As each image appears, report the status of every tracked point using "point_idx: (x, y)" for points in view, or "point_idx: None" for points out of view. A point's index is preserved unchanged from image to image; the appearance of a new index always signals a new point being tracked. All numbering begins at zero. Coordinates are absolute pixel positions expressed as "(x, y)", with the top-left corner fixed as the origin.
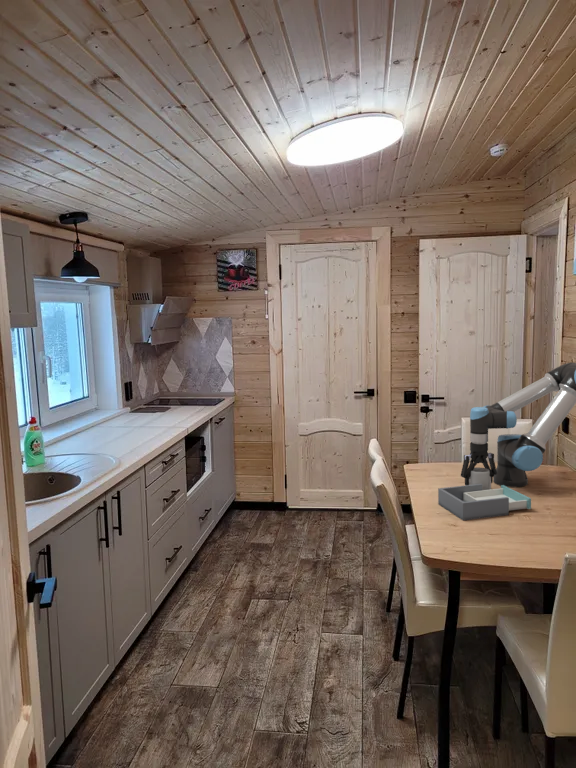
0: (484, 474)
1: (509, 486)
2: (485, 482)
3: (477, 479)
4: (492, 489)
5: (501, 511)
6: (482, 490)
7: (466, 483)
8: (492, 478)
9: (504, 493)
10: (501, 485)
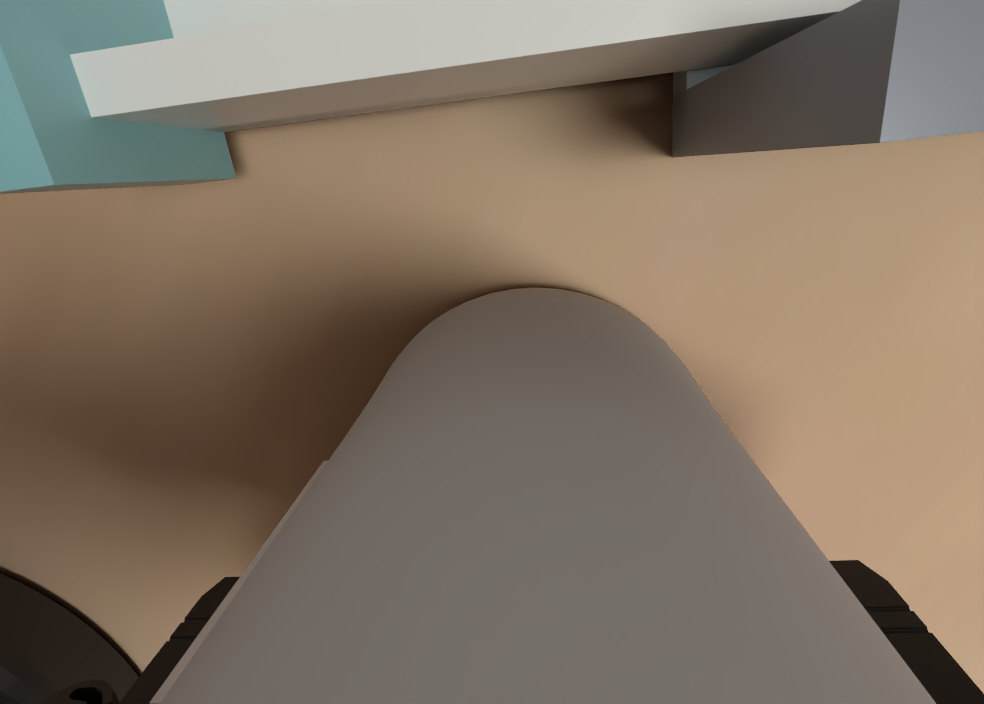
0: (514, 698)
1: (9, 583)
2: (481, 407)
3: (803, 547)
4: (411, 47)
5: None
6: (782, 10)
7: (905, 610)
8: (147, 670)
9: (140, 11)
10: (37, 170)
